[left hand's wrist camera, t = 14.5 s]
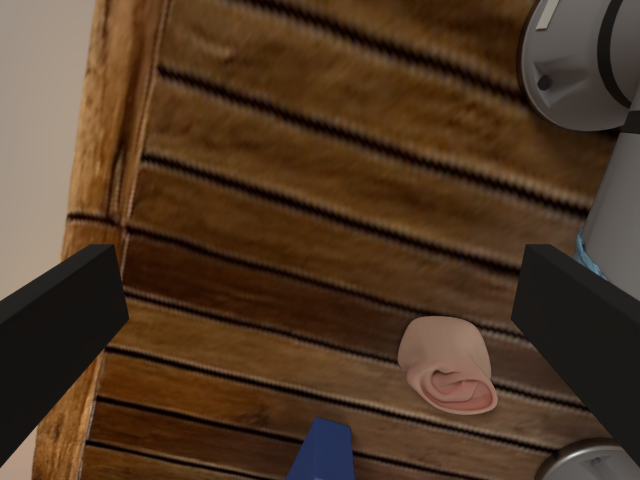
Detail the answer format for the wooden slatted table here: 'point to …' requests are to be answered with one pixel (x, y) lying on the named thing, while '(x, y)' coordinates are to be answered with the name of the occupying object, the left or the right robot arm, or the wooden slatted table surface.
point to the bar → (324, 453)
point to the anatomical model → (448, 365)
